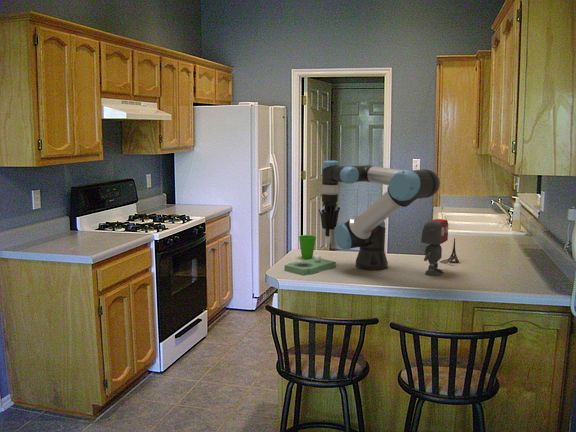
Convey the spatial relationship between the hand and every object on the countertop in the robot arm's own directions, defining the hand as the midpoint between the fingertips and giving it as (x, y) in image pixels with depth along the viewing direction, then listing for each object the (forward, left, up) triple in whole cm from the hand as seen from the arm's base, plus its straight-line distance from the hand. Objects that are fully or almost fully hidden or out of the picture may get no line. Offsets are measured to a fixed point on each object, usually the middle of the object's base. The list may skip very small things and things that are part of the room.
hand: (328, 242), depth 270 cm
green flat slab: (0, +13, -10) cm, 17 cm away
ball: (0, +8, -6) cm, 10 cm away
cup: (+16, -2, -11) cm, 19 cm away
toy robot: (-44, -21, -11) cm, 50 cm away
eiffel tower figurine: (-39, -48, -11) cm, 63 cm away
